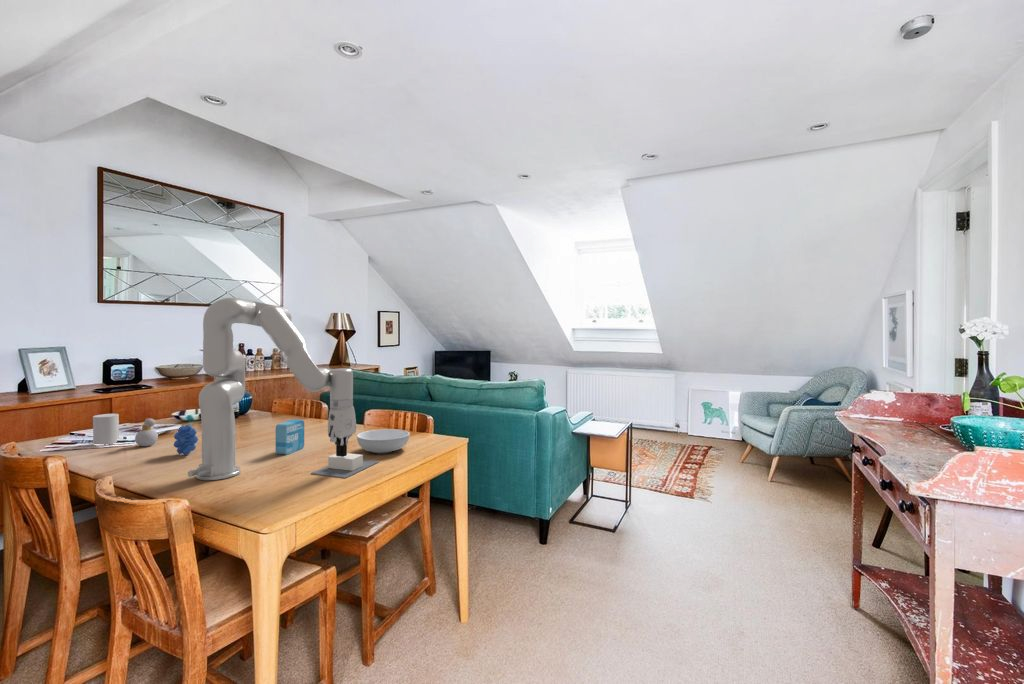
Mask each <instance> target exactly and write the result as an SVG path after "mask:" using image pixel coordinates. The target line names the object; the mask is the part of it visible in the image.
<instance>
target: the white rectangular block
mask: <svg viewBox="0 0 1024 684" xmlns="http://www.w3.org/2000/svg"><path fill="white" fill-rule="evenodd" d="M363 459H364V455H363V454H358V453H349V452H347V455H346V456H344V457H340V456H336V453H335V454H331V455H329V456H328V457H327V461H328V463H327V466H328V468H333V469H342V470H350V471H353V470H355V469H357V468H360V467H362V466H363Z"/></svg>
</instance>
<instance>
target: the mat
mask: <svg viewBox="0 0 1024 684" xmlns="http://www.w3.org/2000/svg"><path fill="white" fill-rule="evenodd" d="M380 462H381V461H380V460H373V459H372V460H371V459H364V458H363V466H362V467H360V468H357V469H355V470H353V471H350V470H342V469H333V468H328V465H327V466H324V467H322V468H320V469H319V468H318V469H317V470H315V471H312V472H311V473H310V475H317V476H324V477H332V478H341V479H348V478H349V477H352V476H354V475H356V474H358V473H361V472H363V471H364V470H366V469H368V468H370V467H373V466H374V465H377V464H378V463H380Z"/></svg>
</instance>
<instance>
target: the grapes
mask: <svg viewBox="0 0 1024 684" xmlns="http://www.w3.org/2000/svg"><path fill="white" fill-rule="evenodd" d="M197 433H198V431H197V429H196V428H193V426H192V425H191V424H186V425H181V426H179V427H178V429H177V432H176V433H174V436H173V438H174V439H175V441H174V443H173V446H174V447H175V448H177V449H176V453H178V454H182V455H184V456H188V455H189V454H191V452H193V451H195V449H196V448H197V446H196V445H197V443H198V441H199V437H198V436H197Z"/></svg>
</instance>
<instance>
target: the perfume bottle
mask: <svg viewBox="0 0 1024 684" xmlns="http://www.w3.org/2000/svg"><path fill="white" fill-rule="evenodd" d="M155 424H156V420H155V419H154V418H148V417H146V418H145V419H144V421H143V424H141V426H142V427H141V430H139V431H138V432H137V433H136V434H135V437H134V441H135V443H136V445H138V446H139V447H151V446H153V445H154V444H156V443H157V441H158V439H159V434H158V432H157V431H156V430H155V429H153V428H152V427H153V426H154V425H155Z"/></svg>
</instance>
